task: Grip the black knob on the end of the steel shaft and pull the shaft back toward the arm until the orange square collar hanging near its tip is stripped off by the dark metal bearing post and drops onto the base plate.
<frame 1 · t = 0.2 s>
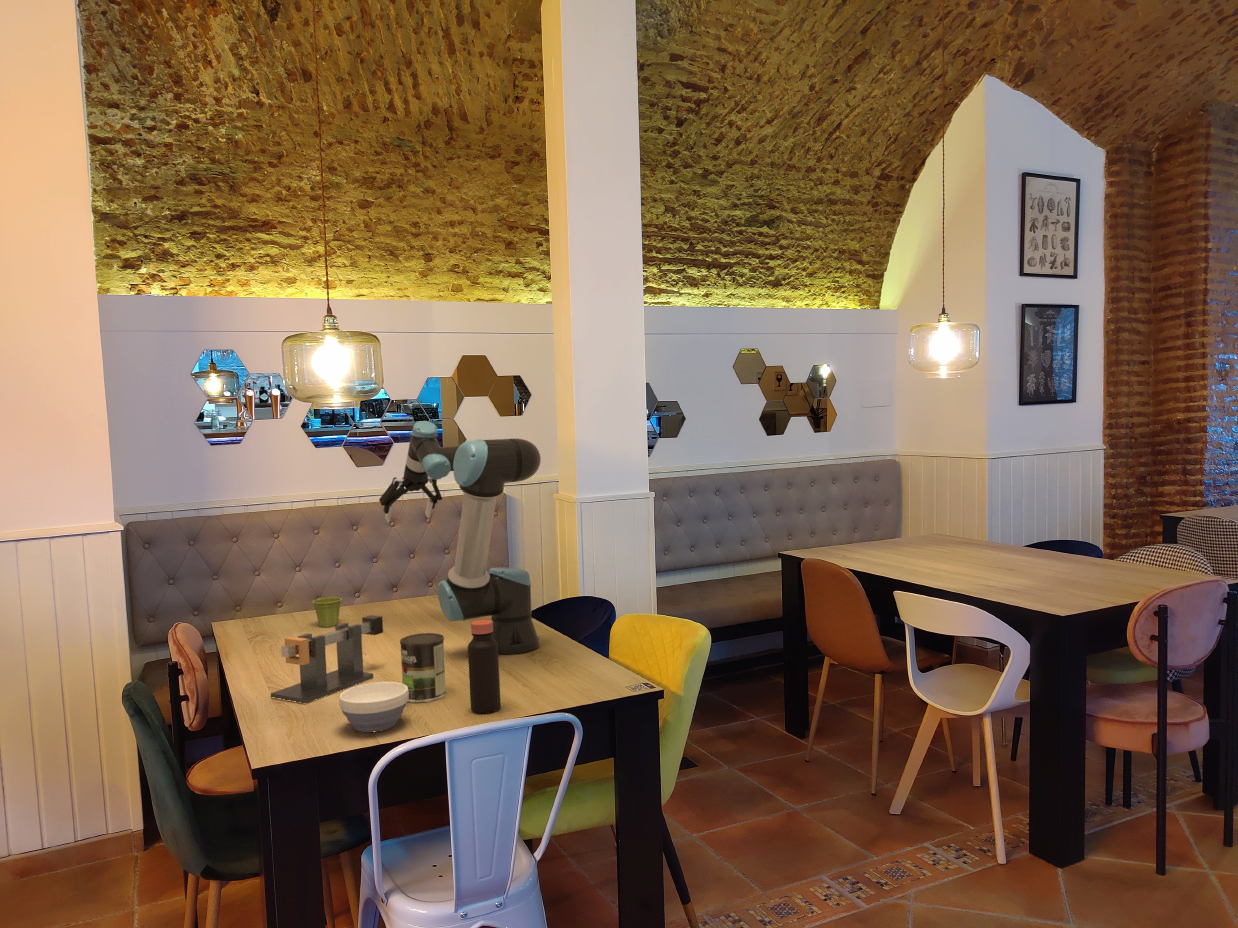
hand: (407, 517, 274), 36 cm above the table, tool tilted 35°, fingers open, 13 cm apart
collar: (297, 662, 204), point 8 cm above the table, touching shaft
stand: (327, 686, 212), on the table
shaft: (333, 636, 214), point 12 cm above the table, slide at 0.0 cm, touching collar
bottle: (485, 709, 190), on the table
bowl: (376, 726, 182), on the table
coffee can: (424, 696, 201), on the table
plant pot: (328, 626, 281), on the table
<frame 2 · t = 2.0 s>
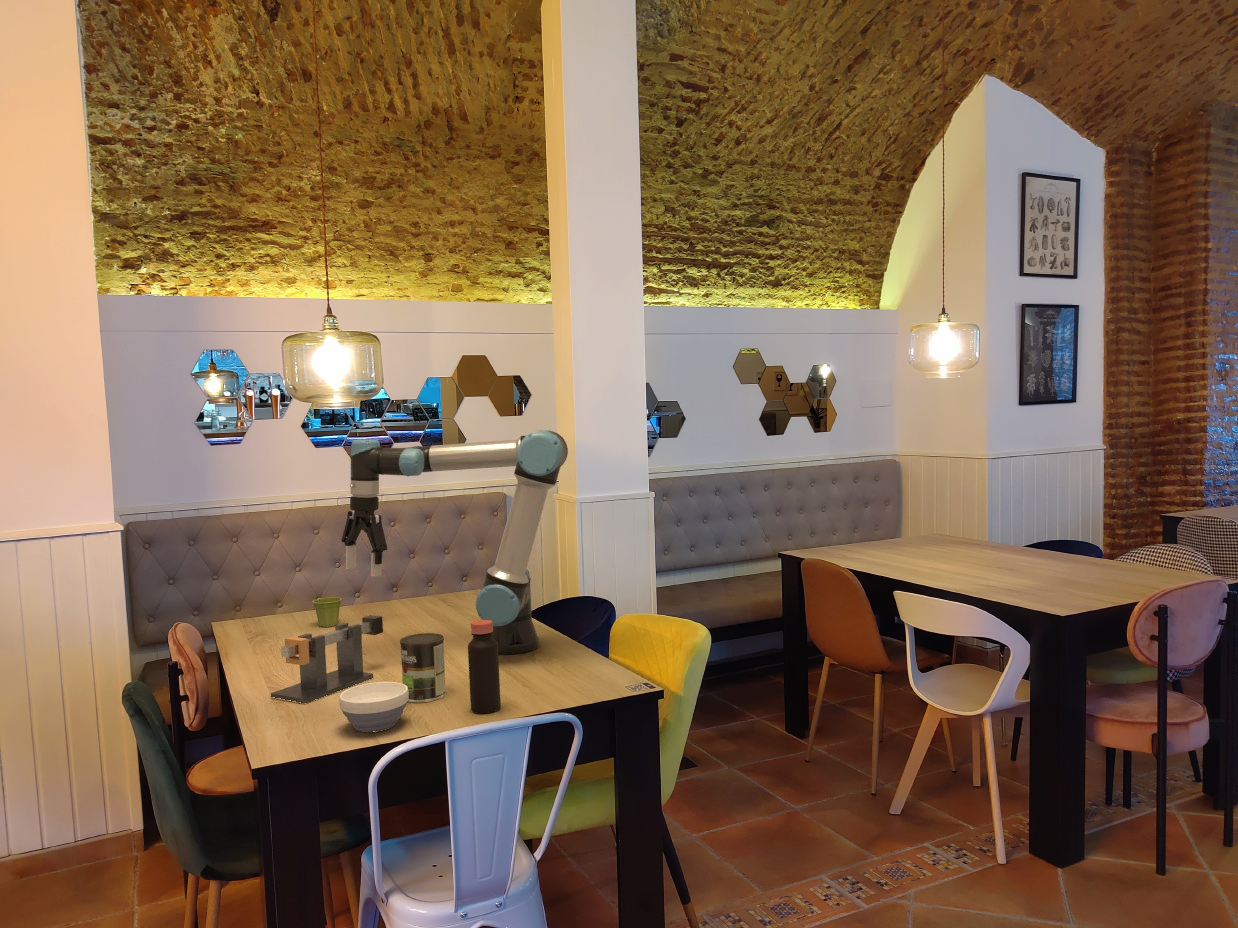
hand: (363, 572, 230), 26 cm above the table, tool pointing down, fingers open, 13 cm apart
nothing on the table moved.
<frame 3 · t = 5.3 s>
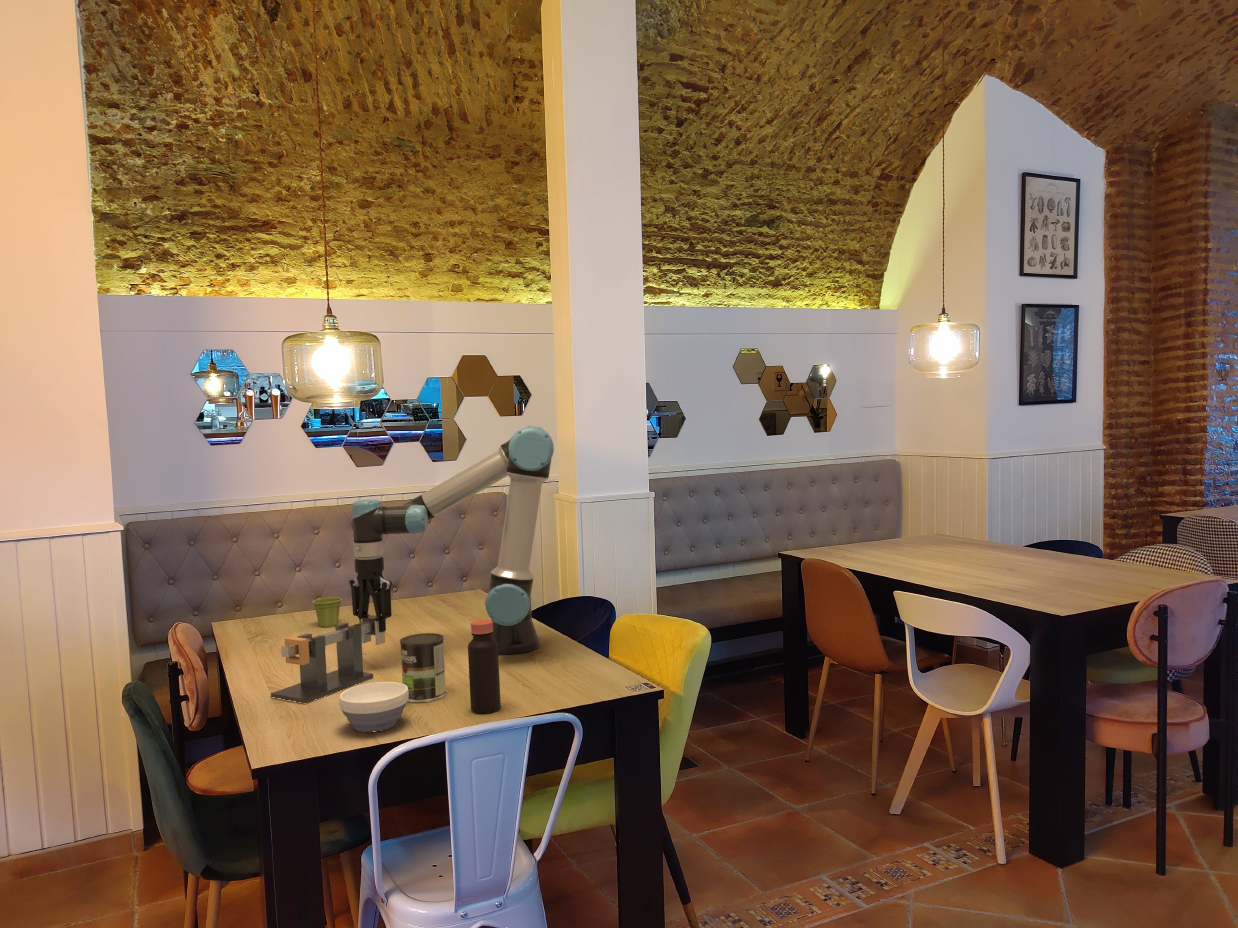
hand: (373, 642, 226), 7 cm above the table, tool pointing down, fingers closed on shaft, 4 cm apart
shaft: (333, 636, 214), point 12 cm above the table, slide at 0.0 cm, touching collar, gripper
everything else where it was.
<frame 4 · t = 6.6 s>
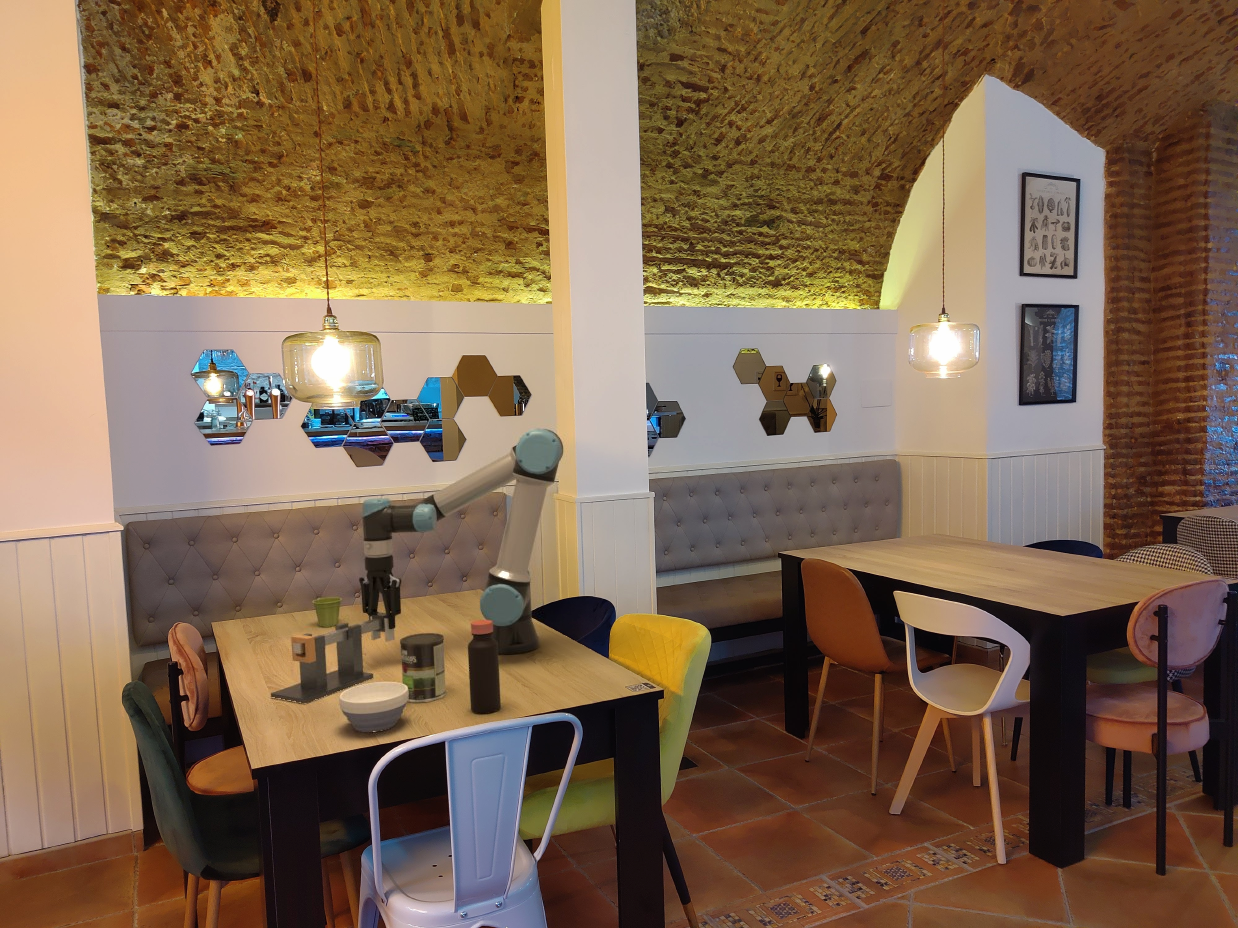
hand: (383, 639, 229), 7 cm above the table, tool pointing down, fingers closed on shaft, 4 cm apart
collar: (304, 660, 206), point 8 cm above the table, touching stand
shaft: (344, 633, 217), point 12 cm above the table, slide at 3.5 cm, touching gripper
everything else where it was.
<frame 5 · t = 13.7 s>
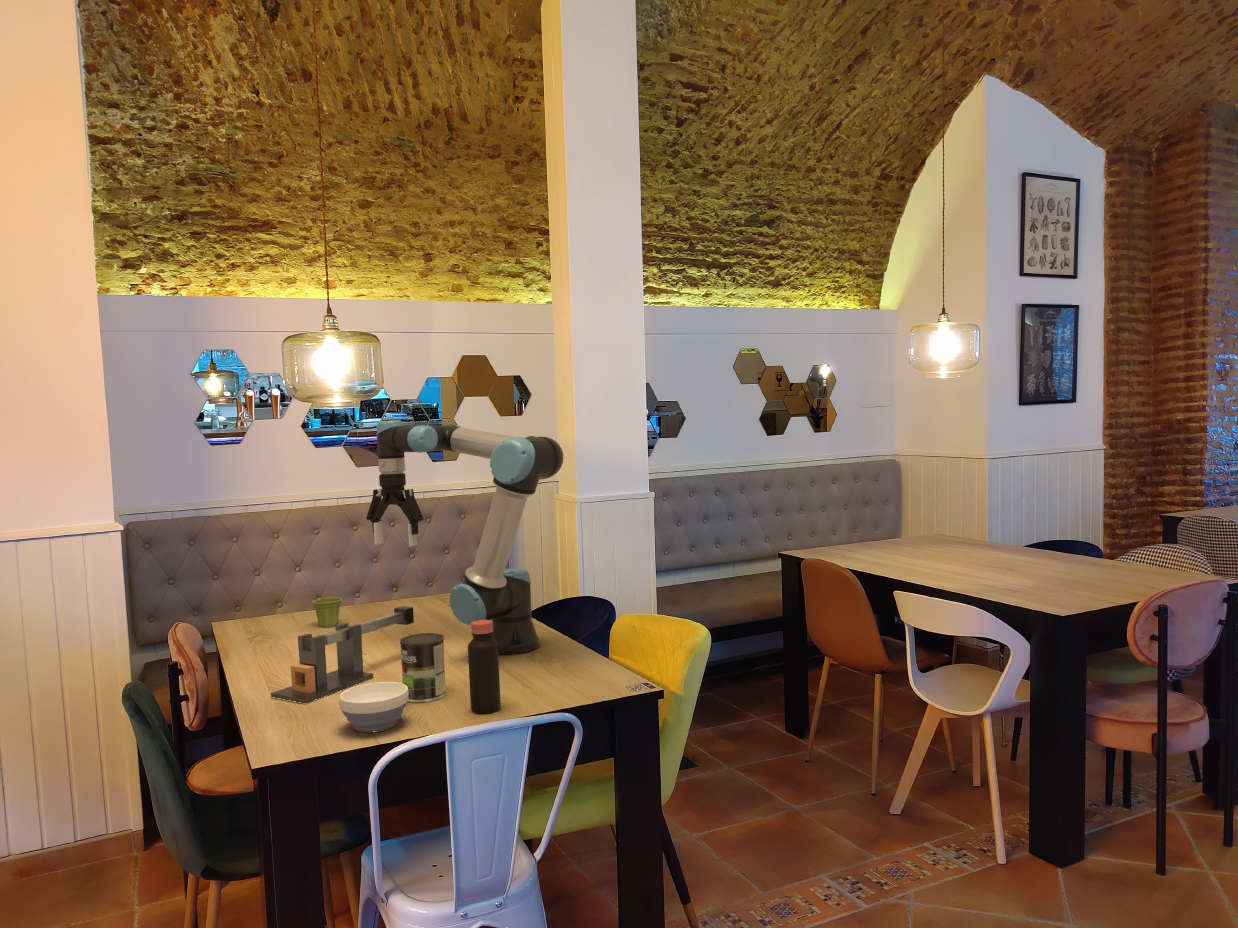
hand: (395, 544, 246), 31 cm above the table, tool pointing down, fingers open, 13 cm apart
collar: (303, 690, 205), point 1 cm above the table, touching stand
shaft: (368, 626, 224), point 12 cm above the table, slide at 12.0 cm
everything else where it was.
at the end: shaft slide at 12.0 cm; collar point 1.2 cm above the table; collar touching stand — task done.
